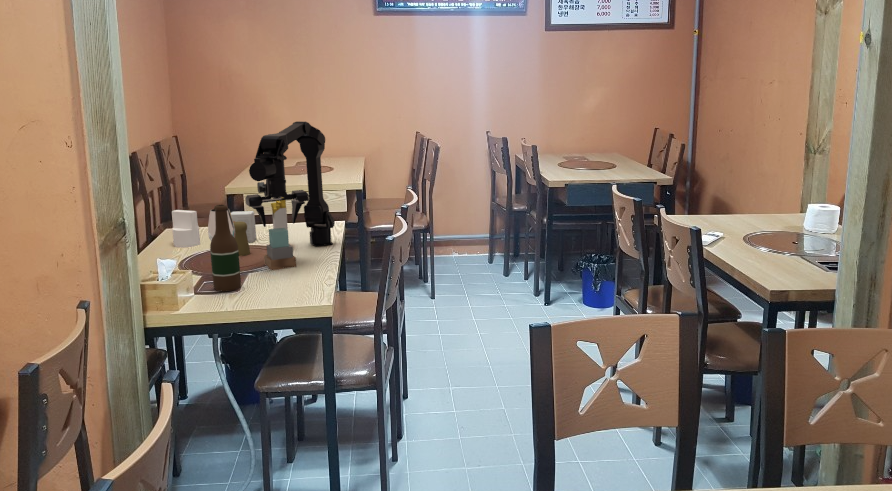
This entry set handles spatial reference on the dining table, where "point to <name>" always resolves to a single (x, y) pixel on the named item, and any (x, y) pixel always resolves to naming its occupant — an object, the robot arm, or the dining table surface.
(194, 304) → the dining table surface
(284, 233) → the teal cube
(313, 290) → the dining table surface
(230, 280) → the beer bottle
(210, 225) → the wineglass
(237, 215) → the small box
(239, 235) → the cork
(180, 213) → the white stepped block
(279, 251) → the charcoal block
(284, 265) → the walnut slab
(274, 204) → the french fries container
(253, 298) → the dining table surface
